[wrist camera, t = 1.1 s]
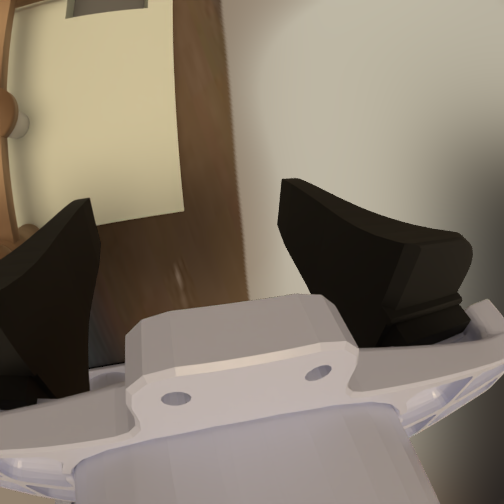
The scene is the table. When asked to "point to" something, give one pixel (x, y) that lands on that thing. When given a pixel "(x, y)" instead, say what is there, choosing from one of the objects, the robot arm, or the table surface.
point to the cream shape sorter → (94, 109)
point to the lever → (3, 123)
